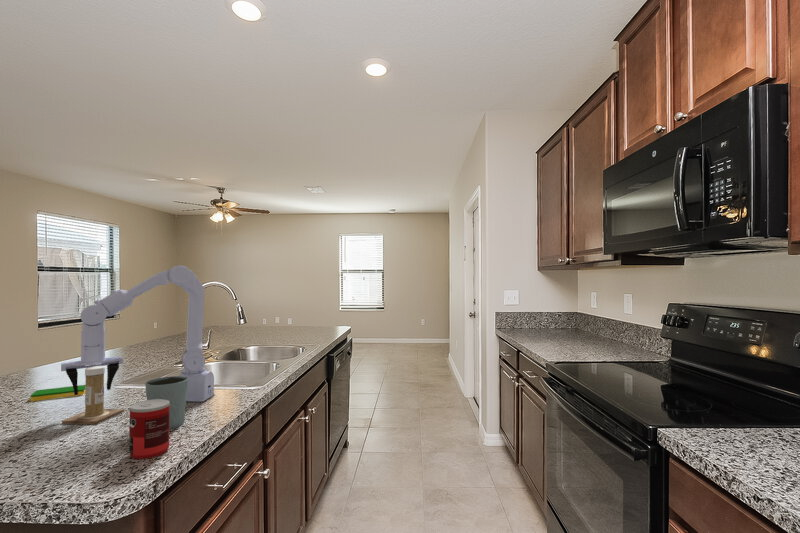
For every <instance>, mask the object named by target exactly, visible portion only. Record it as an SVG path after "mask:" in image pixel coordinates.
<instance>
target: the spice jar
mask: <svg viewBox="0 0 800 533" xmlns="http://www.w3.org/2000/svg"><path fill="white" fill-rule="evenodd" d="M105 372H106V367H105V366H93V367H88V368H84V378H85V383H84V385H85V394H84V406H85V407H84V412H85V416H87V417H92V416H98V415H101V414H103V413H104V409H105V408H104V406H105V404H104V403H105V402H104V401H105Z"/></svg>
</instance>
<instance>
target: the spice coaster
mask: <svg viewBox="0 0 800 533" xmlns="http://www.w3.org/2000/svg"><path fill="white" fill-rule="evenodd" d="M122 412H123V413H125V409H124V408H104V413H103V414H101V415H98V416H92V417H87V416H85V411H83V412H80V413H78V414H75V415H73V416H70V417H68V418H65V419H63V420H61V424H62V425H63V424H64V425H65V424H66V425H99V424H101V423H103V422H105V421H107V419H108V420H110V419H112V418H114V417H117V416H118V414H119V415H121V414H123V413H122ZM120 413H121V414H120ZM111 417H112V418H111ZM109 418H110V419H109ZM100 422H101V423H100ZM98 423H99V424H98Z"/></svg>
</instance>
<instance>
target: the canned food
mask: <svg viewBox="0 0 800 533" xmlns="http://www.w3.org/2000/svg"><path fill="white" fill-rule="evenodd" d="M169 426H170V403H169V401H168V400H164V399H153V400H147V399H146V400H142V401H138V402H135V403H133V404H132V405H130V407H129V428H128V429H129V434H128V435H129V438H128V439H129V443H128V444H129V445H128V447H129V450H128V451H129V452H128V453H129V454H130V457H131V458H132V459H135V460H145V459H146V458H147V459H152V458H156V457H158V456H161V455H163V454H165V453H166V452H167V451H168V450H169V447H170V429H169Z"/></svg>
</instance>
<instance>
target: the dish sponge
mask: <svg viewBox="0 0 800 533" xmlns="http://www.w3.org/2000/svg"><path fill="white" fill-rule="evenodd" d="M77 386H78V395H81V396H84V395H85V384H81V385H77ZM83 394H84V395H83ZM29 396H30V399H29V401H30V402H38V401H40V402H41V401H47V400H53V399H54V400H55V398H56V399H62V398H61V397H65V398H69V397H68V396H73V397H77V396H76V395H74V388H73V385H72V386H63V387H62V386H61V387H55V388H54V387H53V388H45V389H37V390H35V391H34V392H33V393H32V394H30V395H29Z"/></svg>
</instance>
